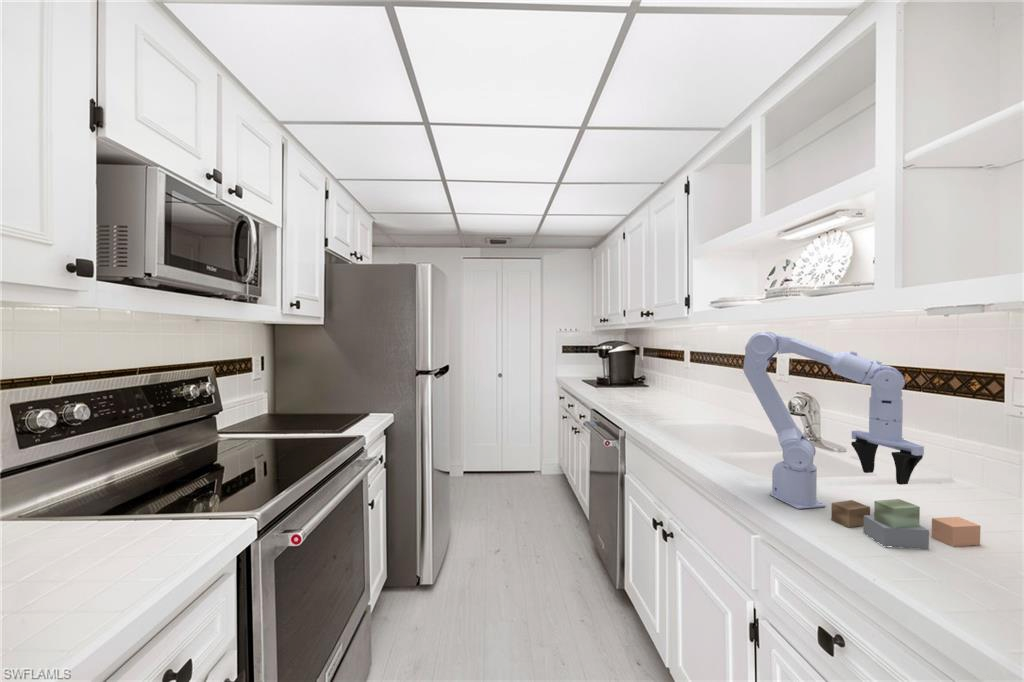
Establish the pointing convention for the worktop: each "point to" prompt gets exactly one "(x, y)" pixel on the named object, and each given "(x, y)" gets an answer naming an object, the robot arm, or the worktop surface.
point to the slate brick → (896, 534)
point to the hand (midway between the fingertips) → (884, 477)
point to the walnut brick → (849, 513)
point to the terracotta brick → (956, 531)
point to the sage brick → (896, 513)
